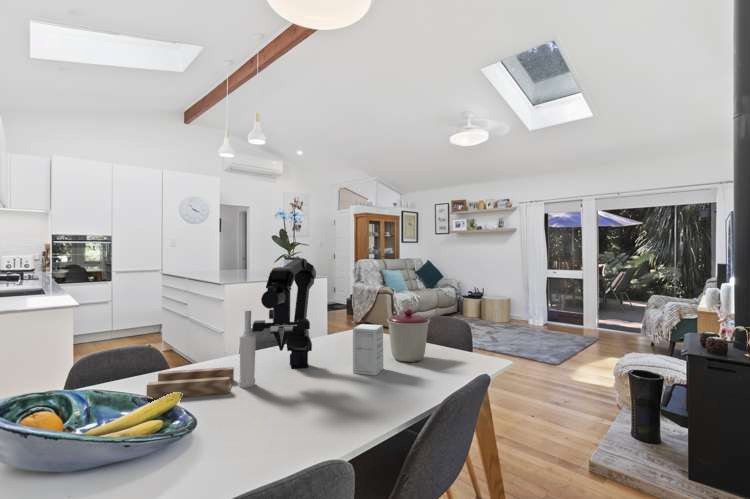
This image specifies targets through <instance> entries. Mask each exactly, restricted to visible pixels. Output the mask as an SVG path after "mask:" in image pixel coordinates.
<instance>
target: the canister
mask: <svg viewBox="0 0 750 499" xmlns="http://www.w3.org/2000/svg"><path fill="white" fill-rule="evenodd" d="M403 313H404V314H403ZM403 313H402V314H393V315H392V316H390V317H389V318H387V319H386V322H388V331H389V341H390V350H391V354H392V357H393V358H394V360H396V361H398V362H404V363H415V362H420V361H422V359H424V357H425V353H426V345H427V340H428V339H427V338H428V330H429V329H428V328H429V323H430V322H431V320H430V319H429V318H427V317H426V316H424V315H420V314H413V310H412V309H411V308H406V309H404V312H403Z"/></svg>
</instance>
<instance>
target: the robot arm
mask: <svg viewBox="0 0 750 499" xmlns="http://www.w3.org/2000/svg"><path fill="white" fill-rule="evenodd" d="M316 277H317V271H316V268H315V267H314V265H313V264H311V263H310V262H308V260H307V259H306V258H303V257H300V258H299V257H298V258H295V257H294V258H293V259H292V260H291V261H290V262H288V263H287V264H286V265H283V266H276V267H273V268H272V269H271V271H270V272H269V275H268V279H267V281H266V282H267V283H266V285H265V289H267V290H266V291H265V292H264V293H262V296H261V298H260V299H261V300H260V301H261V304H262V306H263V307H264V308H266V309H268V319H269V320H272V322H266V320H265V319H264V320H262V319H261V320H254V321H253V322H252V325H251V330H252V332H253V333H256V332H259V333H260V332H264V330H265V329H270V332H269V333H270V334H271V335H272V334H273V335H274V338H275V339H276V343H277V345H278V348H279V351H283V350H284V347H285V345H286V350H287V352H291V353H289V366H290V368H291V369H303V368H309V352H311V351H312V350H313V342H312V340H311V337H310V332H309V330H310V329H311V328H310V327H311V323H310V320H309V319H308V318H307V316H308V305H309V304H308V303H309V295H310V289H311V288H312V286H313V285H314V284H315V279H316ZM294 282H295V285H296V286H297V292H296V300H295V301H296V302H295V308H294V310H295V311H294V318H293V321H291V291H292V286H293V283H294ZM280 328H281V329H283V331H282V338H281V332H280Z"/></svg>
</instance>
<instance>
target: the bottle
mask: <svg viewBox="0 0 750 499" xmlns="http://www.w3.org/2000/svg"><path fill="white" fill-rule="evenodd" d="M256 340H257V335H256V334H255V332H252V309H246V310H244V329H243V332H242V333H241V334H240V335H239V380H238V383H239V384H238V385H239V388H243V389H246V388H247V389H249V388H252V387H255V384H256V378H255V375H256V374H255V372H256V371H255V370H256V369H255V368H256V342H257V341H256Z"/></svg>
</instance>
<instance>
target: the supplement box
mask: <svg viewBox="0 0 750 499" xmlns="http://www.w3.org/2000/svg"><path fill="white" fill-rule="evenodd" d="M383 369H384V325H383V324H368V323H367V324H366V323H365V324H364V323H361V324H359V325H357V326H355V327H353V328H352V373H353V374H357V375H367V376H368V375H370V376H378V374H380V372H382V370H383Z"/></svg>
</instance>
